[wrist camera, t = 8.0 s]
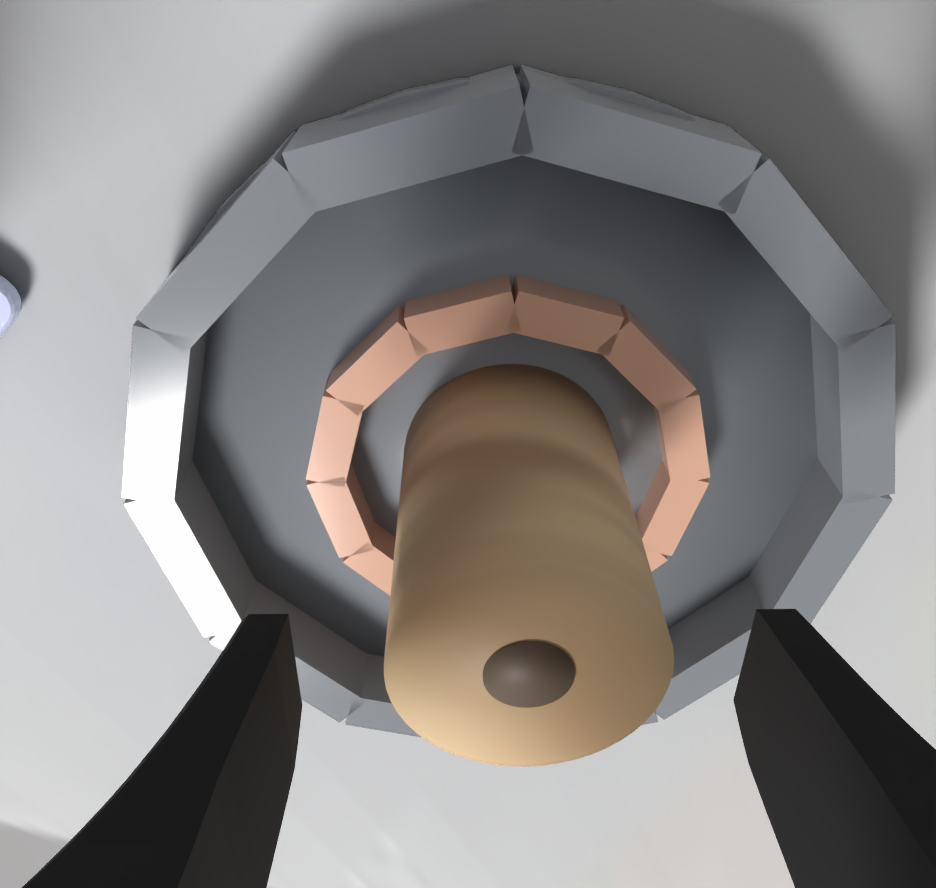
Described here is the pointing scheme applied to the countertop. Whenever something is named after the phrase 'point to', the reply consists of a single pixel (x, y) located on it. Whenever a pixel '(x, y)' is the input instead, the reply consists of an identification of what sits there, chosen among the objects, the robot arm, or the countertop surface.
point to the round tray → (508, 342)
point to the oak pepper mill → (520, 576)
